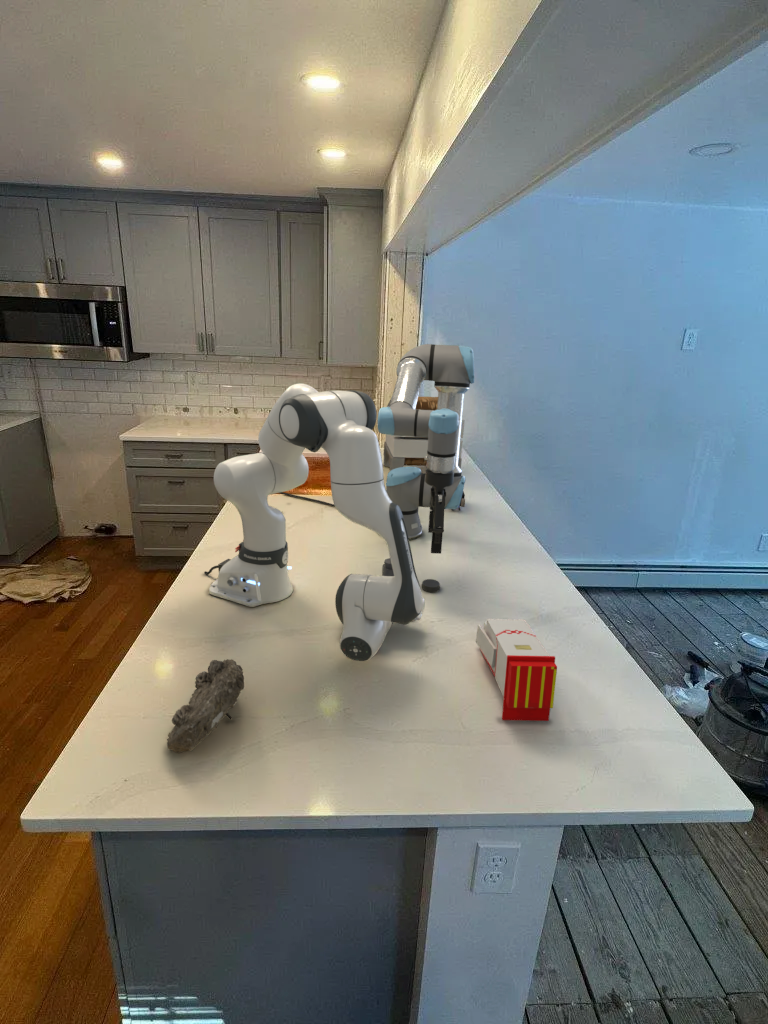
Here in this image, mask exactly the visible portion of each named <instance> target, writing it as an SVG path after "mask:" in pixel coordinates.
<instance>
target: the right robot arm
mask: <svg viewBox="0 0 768 1024" xmlns="http://www.w3.org/2000/svg"><path fill="white" fill-rule="evenodd" d="M395 372H396V376H397V377H396V382H395V385H394V388H393V392H392V395H391V398H390V400H391V402H390V405H389V407H387V406H383V407H380V408H379V410H378V414H377V415H378V416H377V431H378V433H380V434H381V435H386V434H387V435H391V436H393V435H397V436H415V437H425V438H428V450H427V456H428V457H424V459H425V460H427V463H426V466H425V467H426V470H425V472H422V469H421V468H420V467H419V466H418V467H417V466H404V467H400V468H396V469H393V470H391V471H390V470H389V471H388V473H387V475H386V482H385V489H386V492H387V494H388V496H389V498H390V499H391V501H392V502H393V503H395V504H396V505H398V506H399V507H400V509H401V512H402V514H403V518H404V522H405V525H406V530H407V534H408V539H409V541H410V540H415V539H418V538H420V537H421V536H422V535H423V525H422V524H421V518H420V515H419V508H420V507H421V508H429V514H428V515H429V516H428V530H427V531H428V532H427V533H429V534H430V533H431V544H430V554H437V555H439V554H442V547H443V535H444V532H445V529H444V528H445V510H452V509H453V510H456V509H458V507H459V505H460V502H461V498H462V493H463V491H464V488H465V483H466V477H465V475H463V474H462V472H463V470H462V468H461V469H460V468H459V467H458V458H459V447H460V439H461V438H460V436H461V425H462V419H463V414H464V413H463V412H464V402H465V394H466V393H467V392H468V391H469V390H470V388H471V384H474V383H475V355H474V350H473V348H472V347H470V346H466V345H465V346H464V345H459V344H458V345H455V344H432V343H425V344H424V343H423V344H419V345H417V346H415V347H413V348H411V349H410V350H409V351H407V352H406V353H405V354H404V355H402V357H401V358H400V359H399V361H398V363H397V367H396V371H395ZM424 381H428V382H429V381H430V382H434V383H433V384H434V386H433V387H434V389H435V391H437V397H438V403H437V410H435V411H434V410H419V409H416V404H417V399H418V397H419V395H420V389H421V385H422V383H423V382H424ZM280 494H281V495H283V496H288V497H293V498H297V499H300V500H307V501H311V502H315V503H320V504H324V505H326V506H329V507H333V508H336V507H335V505H334V503H330V502H327V501H323V500H319V499H316V498H310V497H305V496H301V495H297V494H292V493H288V492H285V491H284V492H280V493H279V495H280Z"/></svg>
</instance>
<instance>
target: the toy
mask: <svg viewBox="0 0 768 1024" xmlns="http://www.w3.org/2000/svg"><path fill="white" fill-rule="evenodd" d="M476 629H477V631H476V638H475V642H476V645H477V646H478V648H479V650H480V652H481V654H482V656H483V658H484V660H485V661H486V664H487V666H488V668H489V669H490V671H491V672H492V675H493V676H494V679H495V681H496V685H497V686H498V688H499V690H500V692H501V695H502V697H503V701H502V712H501V720H502V721H521V722H523V721H526V722H528V721H529V722H550V712H551V709H554V702H555V692H556V681H557V673H558V665H557V664H556V656H555V655H550V654H549V652H548V651H547V650H546V648H545V647H544V645H543V644H542V642H541V641H540V639H539V638H538V637H537V635H536V634H535V632H534V631H533V629H532V627H531V625H530V624H528V623H527V621H526V619H521V618H518V619H515V618H513V619H512V618H486V620H484V621H483V626H482V625H481V624H477V628H476Z"/></svg>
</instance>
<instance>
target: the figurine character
mask: <svg viewBox="0 0 768 1024" xmlns="http://www.w3.org/2000/svg"><path fill="white" fill-rule="evenodd" d="M465 496H466V494H465V492H464V490H463V493H462V498H461V502H460V505H459V507H458V508H457V509H458V511H461V510H462V509H461V508H465V505H466V497H465ZM451 511H454V509H451Z"/></svg>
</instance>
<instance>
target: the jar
mask: <svg viewBox="0 0 768 1024" xmlns="http://www.w3.org/2000/svg"><path fill="white" fill-rule="evenodd" d="M381 566H382V567H381V569H382V570H381V576H394V573H393V568H392V563H391V559H390V557H388V558H386V559H384V561H383V564H382V565H381Z"/></svg>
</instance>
